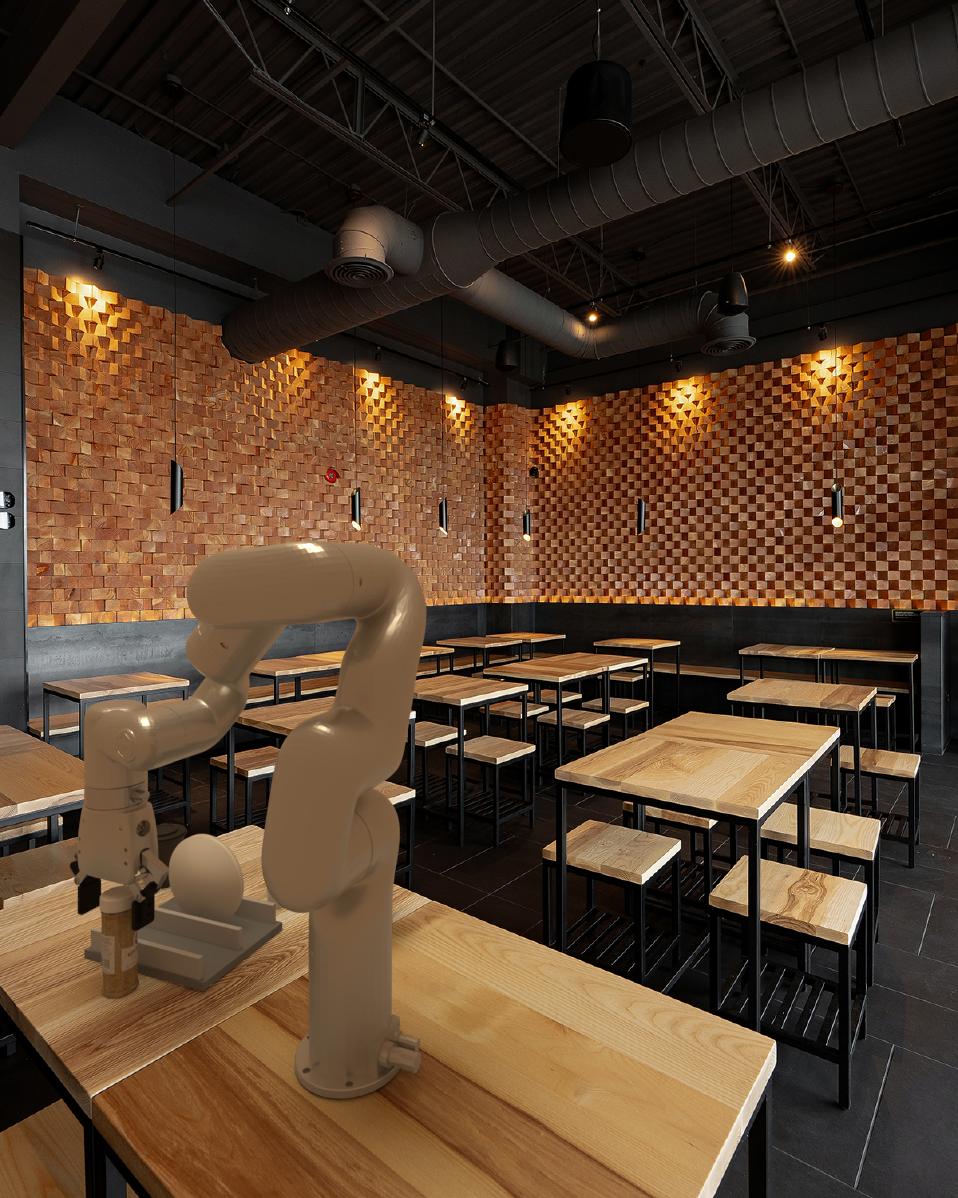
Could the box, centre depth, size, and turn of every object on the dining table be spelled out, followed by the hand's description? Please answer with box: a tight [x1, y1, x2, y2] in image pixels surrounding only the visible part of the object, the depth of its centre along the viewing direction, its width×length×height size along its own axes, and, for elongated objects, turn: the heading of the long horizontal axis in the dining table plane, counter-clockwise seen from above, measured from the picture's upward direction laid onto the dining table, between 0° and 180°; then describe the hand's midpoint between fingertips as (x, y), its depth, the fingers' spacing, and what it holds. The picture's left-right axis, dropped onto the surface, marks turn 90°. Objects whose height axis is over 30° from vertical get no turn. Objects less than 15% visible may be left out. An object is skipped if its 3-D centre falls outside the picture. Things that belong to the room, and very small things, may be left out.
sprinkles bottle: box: [99, 884, 140, 999], centre depth 92 cm, size 5×5×13 cm
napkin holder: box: [266, 888, 284, 910], centre depth 120 cm, size 15×11×6 cm
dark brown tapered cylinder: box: [151, 822, 188, 890], centre depth 123 cm, size 8×8×10 cm
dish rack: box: [83, 833, 283, 992], centre depth 103 cm, size 22×17×15 cm
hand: (115, 918), depth 92 cm, fingers open, 9 cm apart
